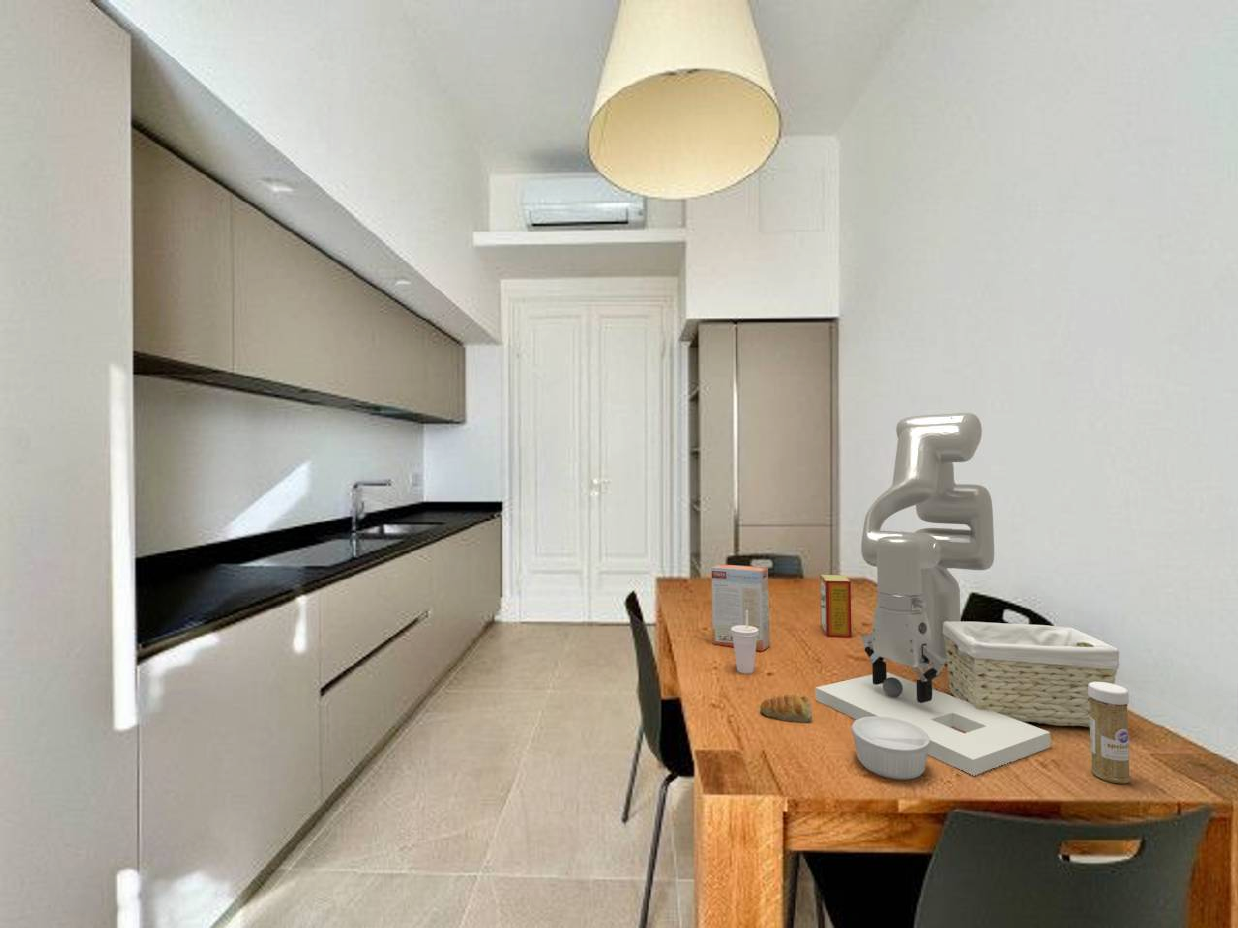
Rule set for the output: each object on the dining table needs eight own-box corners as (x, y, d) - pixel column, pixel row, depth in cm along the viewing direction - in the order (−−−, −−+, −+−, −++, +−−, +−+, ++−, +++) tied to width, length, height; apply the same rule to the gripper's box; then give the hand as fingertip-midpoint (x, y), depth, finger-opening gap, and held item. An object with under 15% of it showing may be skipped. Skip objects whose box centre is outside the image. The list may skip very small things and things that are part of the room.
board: (815, 699, 113) (815, 687, 114) (885, 682, 122) (885, 671, 122) (973, 776, 85) (973, 759, 85) (1050, 747, 93) (1050, 732, 93)
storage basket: (1072, 698, 112) (1069, 623, 113) (1127, 735, 96) (1125, 648, 97) (940, 690, 117) (939, 619, 117) (973, 724, 101) (971, 642, 102)
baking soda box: (821, 627, 166) (820, 573, 166) (844, 628, 164) (843, 573, 165) (826, 637, 156) (825, 579, 157) (851, 638, 155) (850, 579, 155)
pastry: (762, 721, 104) (761, 701, 105) (759, 707, 111) (758, 687, 111) (814, 724, 103) (814, 703, 103) (808, 709, 110) (808, 689, 110)
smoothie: (760, 676, 127) (759, 613, 127) (731, 674, 128) (730, 612, 128) (758, 666, 133) (757, 607, 133) (731, 665, 134) (730, 606, 135)
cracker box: (770, 646, 149) (769, 566, 149) (763, 652, 144) (761, 570, 144) (720, 638, 156) (719, 563, 157) (711, 644, 151) (710, 566, 151)
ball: (891, 691, 111) (890, 673, 111) (907, 697, 108) (906, 679, 108) (878, 694, 110) (878, 676, 110) (894, 700, 106) (894, 682, 106)
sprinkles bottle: (1120, 787, 81) (1117, 693, 81) (1083, 772, 85) (1081, 683, 85) (1137, 780, 83) (1135, 688, 83) (1100, 765, 87) (1098, 678, 87)
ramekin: (894, 791, 81) (894, 754, 81) (836, 756, 91) (835, 723, 91) (948, 774, 85) (947, 739, 86) (886, 742, 96) (886, 711, 96)
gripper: (955, 609, 101) (958, 705, 101) (875, 591, 117) (877, 674, 116) (927, 613, 98) (929, 713, 98) (848, 595, 114) (850, 680, 113)
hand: (901, 691), depth 107 cm, fingers open, 9 cm apart
